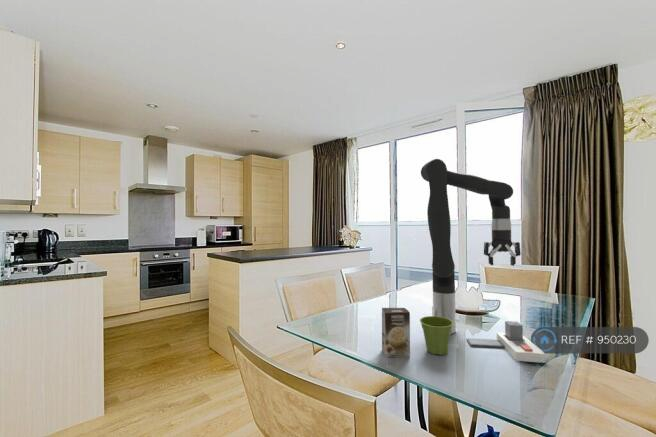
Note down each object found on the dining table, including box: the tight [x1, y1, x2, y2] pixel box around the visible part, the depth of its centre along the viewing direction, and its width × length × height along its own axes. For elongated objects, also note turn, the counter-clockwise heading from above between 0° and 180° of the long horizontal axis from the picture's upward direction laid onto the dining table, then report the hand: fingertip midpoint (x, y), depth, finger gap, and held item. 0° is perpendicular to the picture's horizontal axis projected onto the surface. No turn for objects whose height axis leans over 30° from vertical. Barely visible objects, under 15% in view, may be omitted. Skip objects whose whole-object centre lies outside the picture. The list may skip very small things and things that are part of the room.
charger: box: [504, 320, 524, 341], centre depth 115 cm, size 4×4×8 cm
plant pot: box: [419, 315, 453, 356], centre depth 112 cm, size 12×12×11 cm
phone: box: [466, 337, 505, 349], centre depth 117 cm, size 12×6×1 cm, turn 80°
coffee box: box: [381, 307, 411, 358], centre depth 110 cm, size 9×6×16 cm
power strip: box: [496, 332, 546, 364], centre depth 111 cm, size 9×18×4 cm, turn 169°
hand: (502, 265), depth 133 cm, fingers open, 8 cm apart
